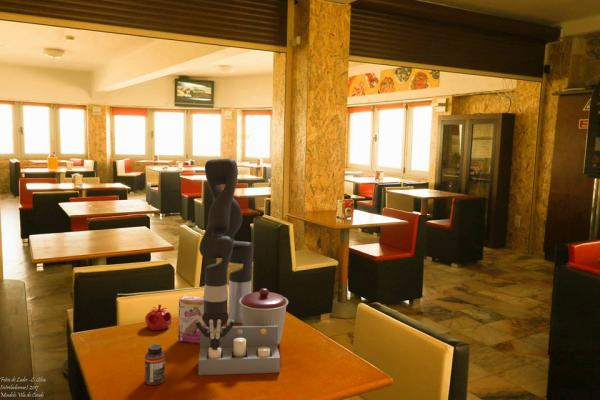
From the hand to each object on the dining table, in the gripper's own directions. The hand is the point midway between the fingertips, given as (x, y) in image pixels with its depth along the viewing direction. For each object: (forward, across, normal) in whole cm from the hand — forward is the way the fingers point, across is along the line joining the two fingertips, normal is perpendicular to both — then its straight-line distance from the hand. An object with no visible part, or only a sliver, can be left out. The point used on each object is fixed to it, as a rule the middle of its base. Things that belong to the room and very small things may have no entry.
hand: (214, 348), depth 158 cm
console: (+7, -8, -2) cm, 11 cm away
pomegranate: (+7, +23, -38) cm, 45 cm away
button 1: (+5, 0, 0) cm, 5 cm away
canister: (+7, -17, -20) cm, 27 cm away
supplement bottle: (+7, +18, +6) cm, 20 cm away
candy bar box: (+7, +8, -24) cm, 26 cm away
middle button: (+2, -8, 0) cm, 8 cm away
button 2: (+6, -16, 0) cm, 17 cm away
